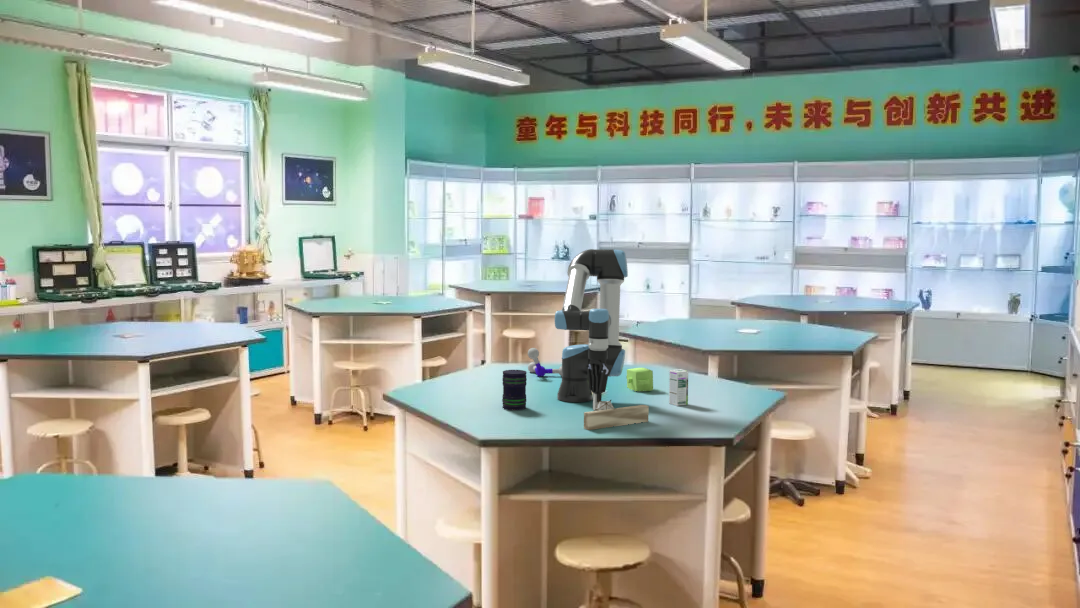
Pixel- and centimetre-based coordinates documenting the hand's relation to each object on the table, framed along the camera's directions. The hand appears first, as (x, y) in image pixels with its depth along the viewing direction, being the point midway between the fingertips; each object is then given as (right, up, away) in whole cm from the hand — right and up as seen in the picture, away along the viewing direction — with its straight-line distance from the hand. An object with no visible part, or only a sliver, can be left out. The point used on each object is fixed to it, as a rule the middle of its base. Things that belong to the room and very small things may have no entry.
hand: (596, 409), depth 336 cm
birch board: (+7, -5, -10) cm, 13 cm away
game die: (+3, -4, -3) cm, 6 cm away
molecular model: (-18, +5, +97) cm, 98 cm away
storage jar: (-32, -2, +18) cm, 37 cm away
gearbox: (+23, +1, +62) cm, 66 cm away
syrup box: (+36, -2, +30) cm, 47 cm away
